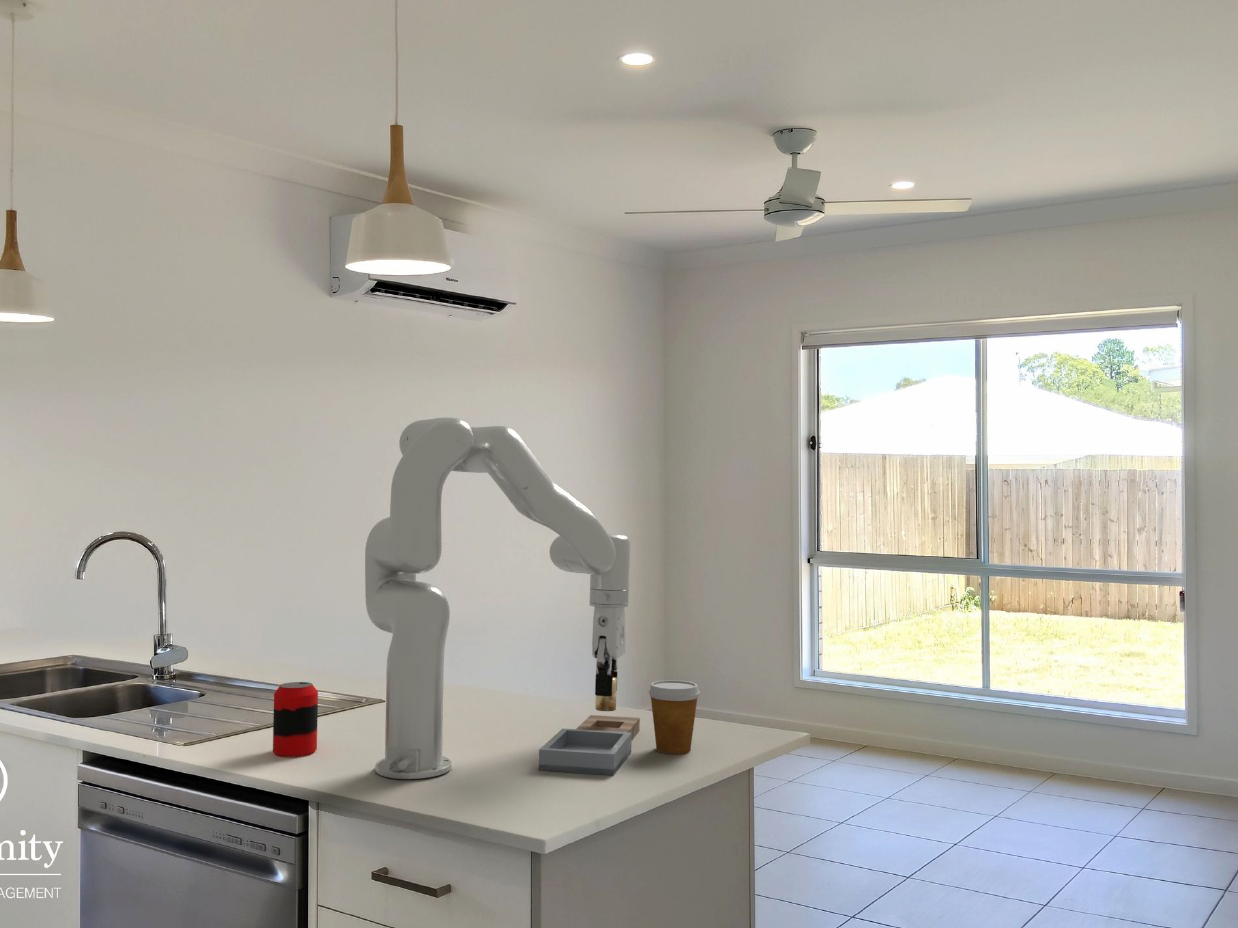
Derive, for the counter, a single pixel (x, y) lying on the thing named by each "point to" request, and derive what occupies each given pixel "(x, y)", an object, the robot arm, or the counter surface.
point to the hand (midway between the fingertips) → (606, 692)
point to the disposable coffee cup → (673, 714)
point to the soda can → (295, 719)
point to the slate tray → (585, 751)
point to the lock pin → (607, 699)
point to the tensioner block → (611, 724)
